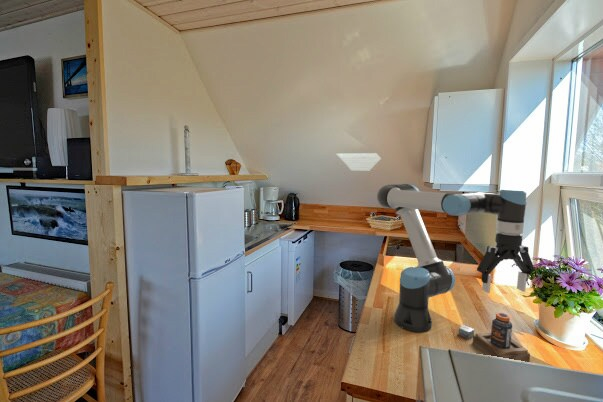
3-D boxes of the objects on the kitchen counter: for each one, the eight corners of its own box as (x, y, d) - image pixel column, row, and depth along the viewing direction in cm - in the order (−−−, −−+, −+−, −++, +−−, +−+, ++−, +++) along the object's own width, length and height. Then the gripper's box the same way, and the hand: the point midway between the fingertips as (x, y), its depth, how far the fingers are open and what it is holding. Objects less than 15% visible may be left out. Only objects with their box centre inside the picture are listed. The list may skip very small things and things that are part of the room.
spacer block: (468, 339, 110) (469, 332, 109) (458, 334, 113) (458, 327, 113) (473, 336, 112) (474, 329, 112) (463, 331, 115) (463, 324, 115)
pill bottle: (486, 341, 103) (489, 312, 102) (496, 337, 106) (499, 309, 104) (503, 351, 98) (506, 320, 97) (514, 346, 100) (516, 317, 99)
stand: (497, 364, 96) (498, 353, 95) (472, 342, 107) (473, 333, 107) (529, 361, 97) (530, 351, 96) (501, 340, 109) (502, 331, 108)
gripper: (483, 236, 93) (478, 296, 96) (551, 235, 95) (545, 294, 98) (468, 231, 101) (464, 287, 103) (532, 230, 103) (526, 285, 105)
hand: (503, 290), depth 101 cm, fingers open, 13 cm apart
